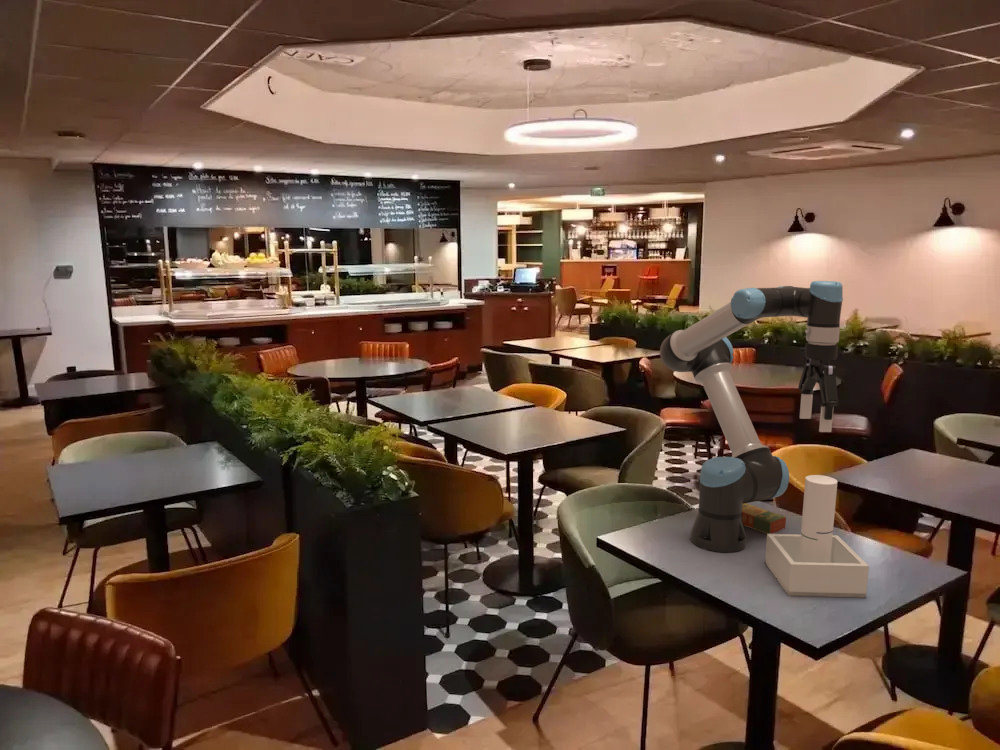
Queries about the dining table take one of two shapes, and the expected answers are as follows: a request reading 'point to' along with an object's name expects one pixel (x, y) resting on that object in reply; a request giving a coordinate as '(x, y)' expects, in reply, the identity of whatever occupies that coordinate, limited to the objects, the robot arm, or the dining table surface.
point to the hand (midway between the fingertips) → (814, 424)
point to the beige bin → (816, 569)
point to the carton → (762, 519)
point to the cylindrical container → (817, 519)
